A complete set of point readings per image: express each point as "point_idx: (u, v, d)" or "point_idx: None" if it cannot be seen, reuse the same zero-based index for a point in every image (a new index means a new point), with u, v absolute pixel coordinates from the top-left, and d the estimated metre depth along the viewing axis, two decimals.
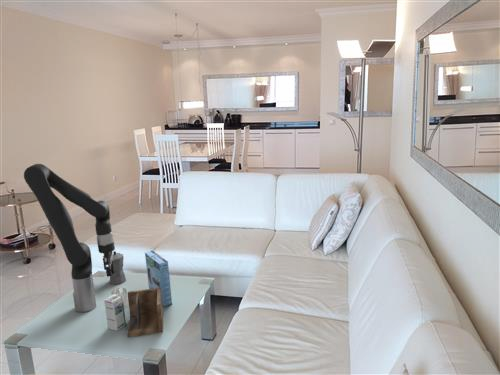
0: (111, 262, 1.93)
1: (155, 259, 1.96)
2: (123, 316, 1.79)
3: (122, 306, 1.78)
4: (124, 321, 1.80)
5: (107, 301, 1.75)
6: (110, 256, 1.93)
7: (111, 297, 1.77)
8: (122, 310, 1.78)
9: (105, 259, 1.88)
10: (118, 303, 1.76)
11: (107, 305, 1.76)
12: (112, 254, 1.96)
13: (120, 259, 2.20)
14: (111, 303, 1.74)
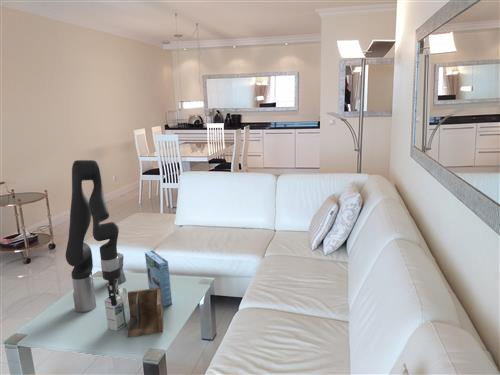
0: (116, 290, 1.74)
1: (154, 259, 1.96)
2: (123, 316, 1.79)
3: (122, 306, 1.78)
4: (124, 321, 1.80)
5: (107, 301, 1.75)
6: (115, 283, 1.74)
7: None
8: (122, 310, 1.78)
9: (110, 287, 1.69)
10: (118, 303, 1.76)
11: (107, 305, 1.76)
12: (117, 280, 1.77)
13: (120, 259, 2.20)
14: None
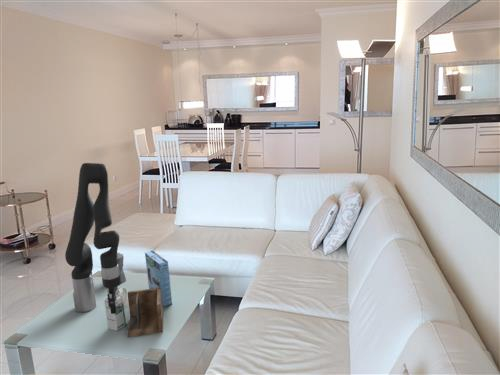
0: (116, 298, 1.74)
1: (155, 259, 1.96)
2: (123, 316, 1.79)
3: (122, 306, 1.78)
4: (124, 321, 1.80)
5: (107, 301, 1.75)
6: (115, 291, 1.74)
7: None
8: (122, 310, 1.78)
9: (110, 295, 1.69)
10: (118, 303, 1.76)
11: (107, 305, 1.76)
12: (117, 288, 1.78)
13: (120, 259, 2.20)
14: None
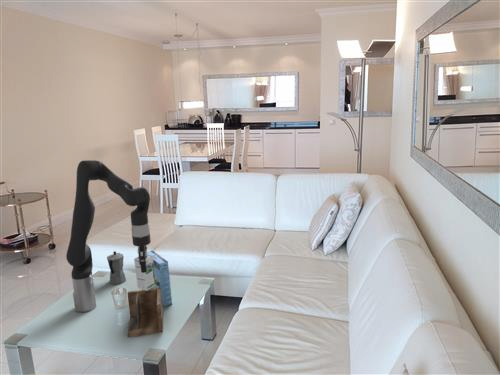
0: (146, 257, 1.71)
1: (155, 259, 1.96)
2: (153, 276, 1.76)
3: (152, 266, 1.75)
4: (154, 281, 1.77)
5: (138, 260, 1.72)
6: (145, 250, 1.71)
7: None
8: (152, 270, 1.75)
9: (141, 253, 1.66)
10: (148, 262, 1.73)
11: (137, 264, 1.73)
12: None
13: (120, 259, 2.20)
14: None
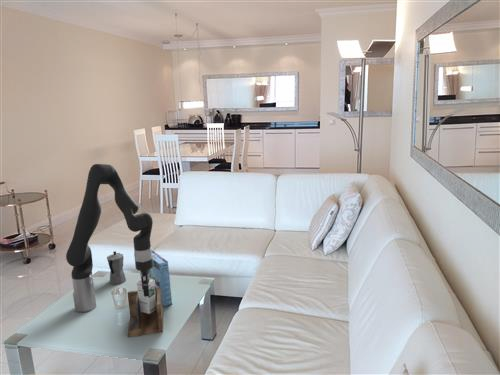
0: None
1: (154, 259, 1.96)
2: (155, 299, 1.79)
3: (154, 289, 1.78)
4: (156, 304, 1.79)
5: (140, 284, 1.74)
6: (148, 274, 1.74)
7: None
8: (154, 293, 1.78)
9: (144, 278, 1.69)
10: (151, 286, 1.76)
11: (139, 288, 1.75)
12: (149, 271, 1.78)
13: (120, 259, 2.20)
14: None
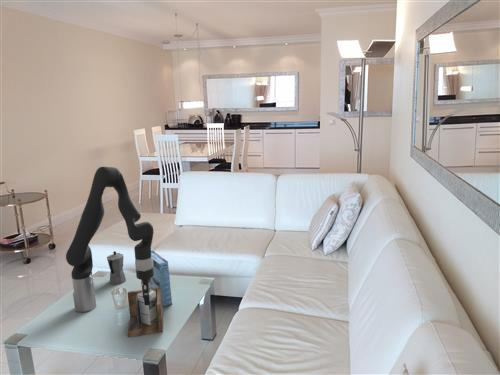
0: None
1: (155, 259, 1.96)
2: (156, 310, 1.80)
3: (155, 300, 1.79)
4: (157, 315, 1.80)
5: (141, 296, 1.75)
6: (149, 283, 1.75)
7: None
8: (155, 304, 1.79)
9: (144, 287, 1.70)
10: (152, 297, 1.77)
11: (140, 299, 1.76)
12: (150, 280, 1.78)
13: (120, 259, 2.20)
14: None
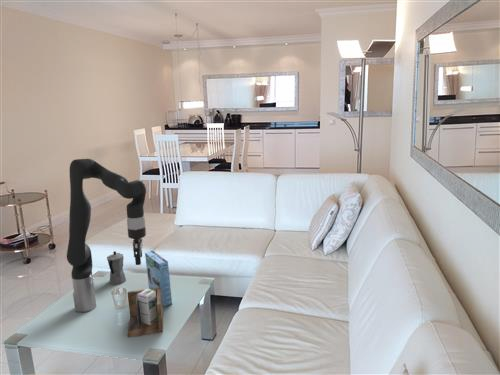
0: (141, 249, 1.72)
1: (154, 259, 1.96)
2: (156, 310, 1.80)
3: (155, 300, 1.79)
4: (157, 315, 1.80)
5: (141, 296, 1.75)
6: (140, 242, 1.72)
7: (144, 291, 1.78)
8: (155, 304, 1.79)
9: (136, 245, 1.67)
10: (152, 297, 1.77)
11: (140, 299, 1.76)
12: (142, 240, 1.76)
13: (120, 259, 2.20)
14: (145, 297, 1.75)
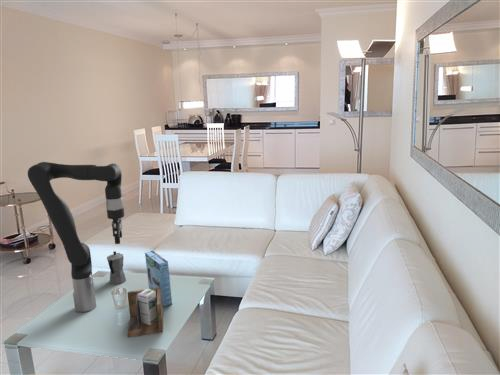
0: (120, 229, 1.82)
1: (155, 259, 1.96)
2: (156, 310, 1.80)
3: (155, 300, 1.79)
4: (157, 315, 1.80)
5: (141, 296, 1.75)
6: (119, 223, 1.82)
7: (144, 292, 1.78)
8: (155, 304, 1.79)
9: (114, 225, 1.77)
10: (152, 297, 1.77)
11: (140, 299, 1.76)
12: (121, 221, 1.86)
13: (120, 259, 2.20)
14: (145, 297, 1.75)
